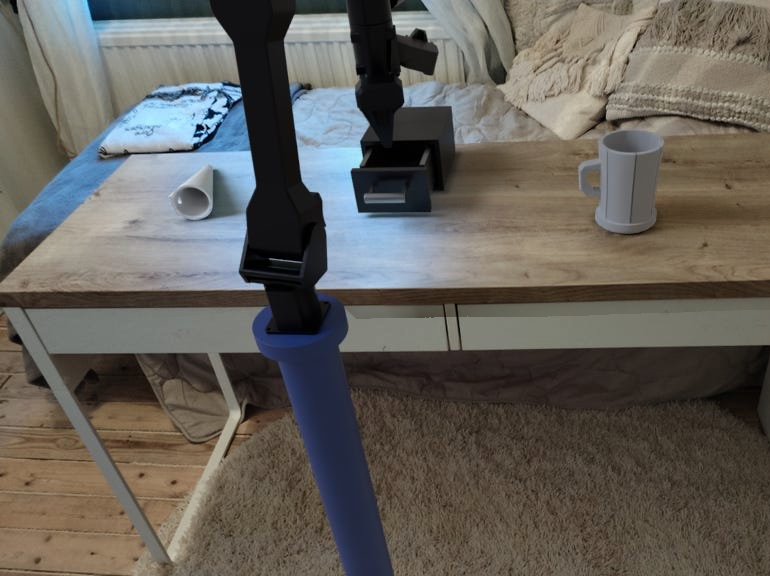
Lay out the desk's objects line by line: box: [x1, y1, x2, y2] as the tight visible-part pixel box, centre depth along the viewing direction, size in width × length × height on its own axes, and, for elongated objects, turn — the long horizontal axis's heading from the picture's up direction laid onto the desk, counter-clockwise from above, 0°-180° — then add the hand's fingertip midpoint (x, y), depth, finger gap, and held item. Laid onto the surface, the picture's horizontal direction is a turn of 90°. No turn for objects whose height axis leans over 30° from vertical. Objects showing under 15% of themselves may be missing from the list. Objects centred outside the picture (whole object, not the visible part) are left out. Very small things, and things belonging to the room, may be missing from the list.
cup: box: [577, 128, 665, 235], centre depth 99 cm, size 10×9×12 cm
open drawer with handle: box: [349, 144, 438, 214], centre depth 109 cm, size 18×11×7 cm, turn 174°
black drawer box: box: [359, 105, 457, 192], centre depth 118 cm, size 15×13×9 cm
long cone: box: [168, 164, 214, 221], centre depth 119 cm, size 6×6×19 cm
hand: (387, 135), depth 103 cm, fingers open, 9 cm apart
